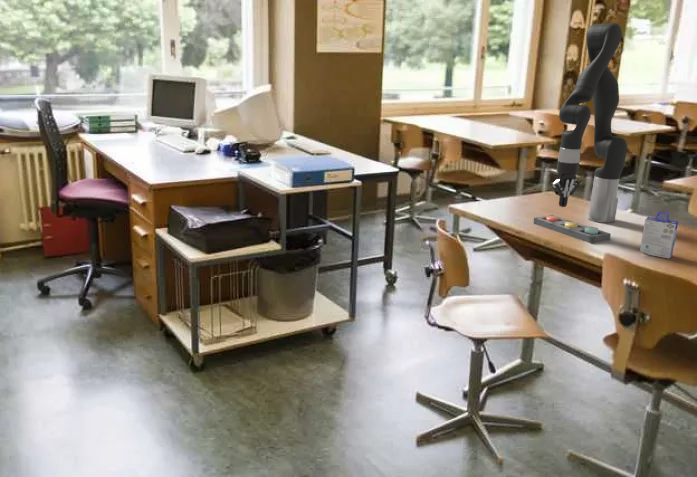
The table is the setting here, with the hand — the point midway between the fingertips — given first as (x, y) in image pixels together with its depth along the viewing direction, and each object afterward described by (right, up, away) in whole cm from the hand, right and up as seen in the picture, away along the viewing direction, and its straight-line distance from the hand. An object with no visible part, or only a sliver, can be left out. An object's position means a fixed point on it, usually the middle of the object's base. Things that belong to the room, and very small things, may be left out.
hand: (562, 206), depth 254 cm
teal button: (+7, -10, -9) cm, 16 cm away
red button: (-2, -6, +6) cm, 9 cm away
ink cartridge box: (+25, -17, -21) cm, 37 cm away
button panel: (+2, -10, -1) cm, 10 cm away
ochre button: (+2, -9, -2) cm, 9 cm away
